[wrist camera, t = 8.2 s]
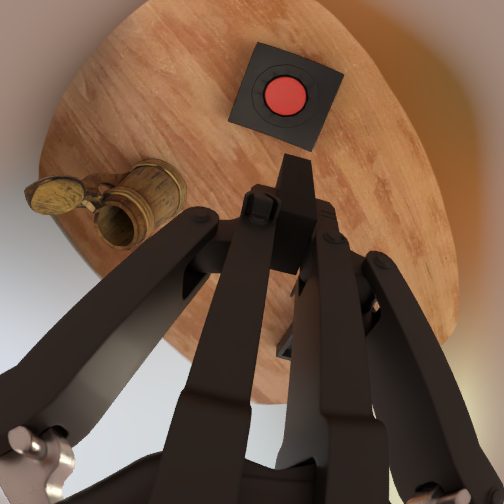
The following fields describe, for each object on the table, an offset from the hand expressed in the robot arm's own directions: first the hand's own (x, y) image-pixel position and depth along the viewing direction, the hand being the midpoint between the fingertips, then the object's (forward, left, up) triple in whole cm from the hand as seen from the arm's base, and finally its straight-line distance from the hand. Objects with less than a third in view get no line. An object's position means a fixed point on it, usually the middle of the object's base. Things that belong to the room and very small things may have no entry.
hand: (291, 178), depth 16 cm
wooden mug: (+16, +12, -19) cm, 28 cm away
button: (+2, -4, -15) cm, 16 cm away
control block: (+2, -4, -19) cm, 20 cm away
